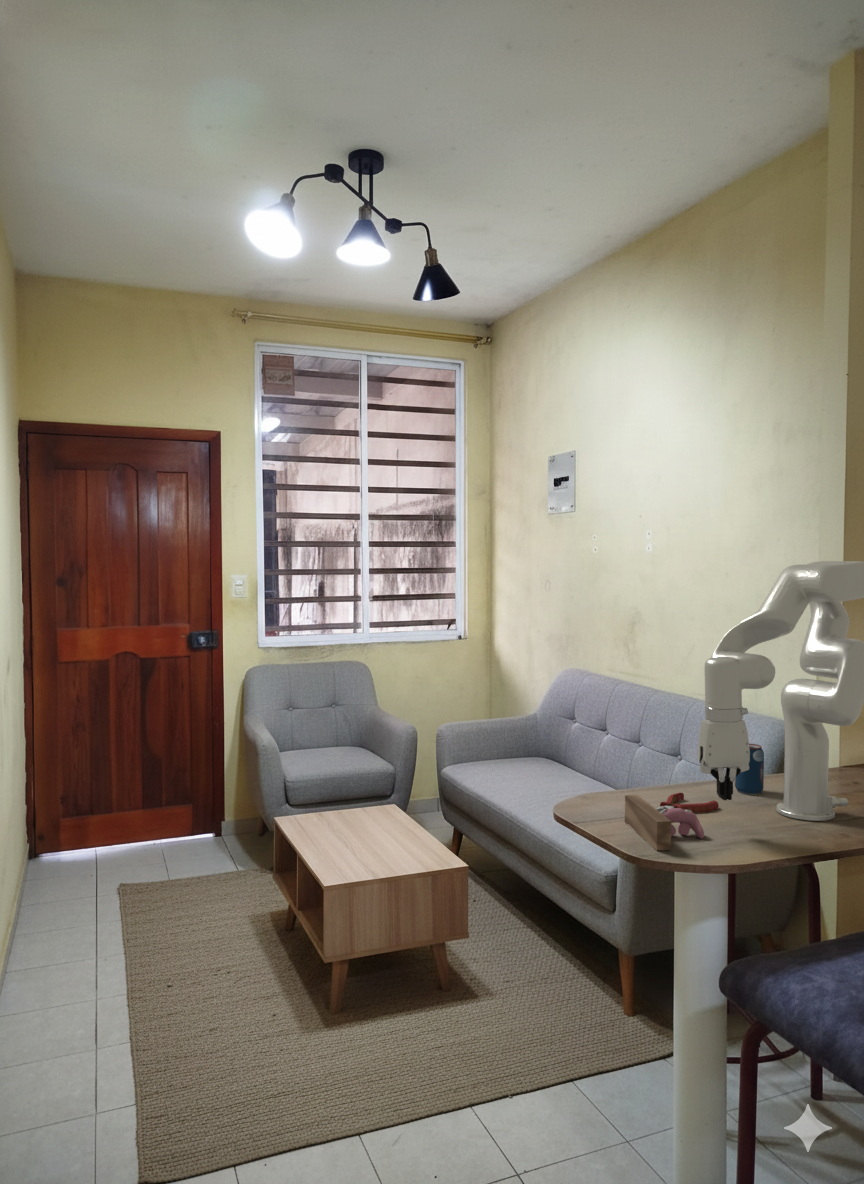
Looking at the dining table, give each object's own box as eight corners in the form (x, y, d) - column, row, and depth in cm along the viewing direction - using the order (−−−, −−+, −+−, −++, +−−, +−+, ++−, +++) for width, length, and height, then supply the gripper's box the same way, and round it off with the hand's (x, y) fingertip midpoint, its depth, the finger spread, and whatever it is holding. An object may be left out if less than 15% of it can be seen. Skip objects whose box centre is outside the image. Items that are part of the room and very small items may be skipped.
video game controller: (697, 841, 184) (690, 808, 187) (707, 838, 180) (700, 804, 183) (654, 844, 183) (648, 810, 185) (663, 840, 179) (657, 806, 181)
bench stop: (637, 821, 193) (638, 795, 193) (670, 850, 173) (671, 821, 173) (624, 821, 193) (625, 795, 193) (656, 851, 173) (657, 821, 173)
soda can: (768, 795, 217) (769, 748, 216) (741, 795, 216) (742, 748, 216) (756, 788, 224) (756, 742, 223) (730, 788, 223) (731, 742, 223)
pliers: (630, 815, 200) (630, 804, 200) (679, 800, 213) (679, 790, 213) (672, 827, 191) (672, 815, 191) (720, 811, 204) (721, 800, 204)
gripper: (748, 709, 189) (749, 791, 190) (683, 713, 187) (684, 795, 188) (765, 716, 181) (766, 801, 182) (697, 720, 180) (698, 805, 181)
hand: (724, 798), depth 185 cm, fingers closed
